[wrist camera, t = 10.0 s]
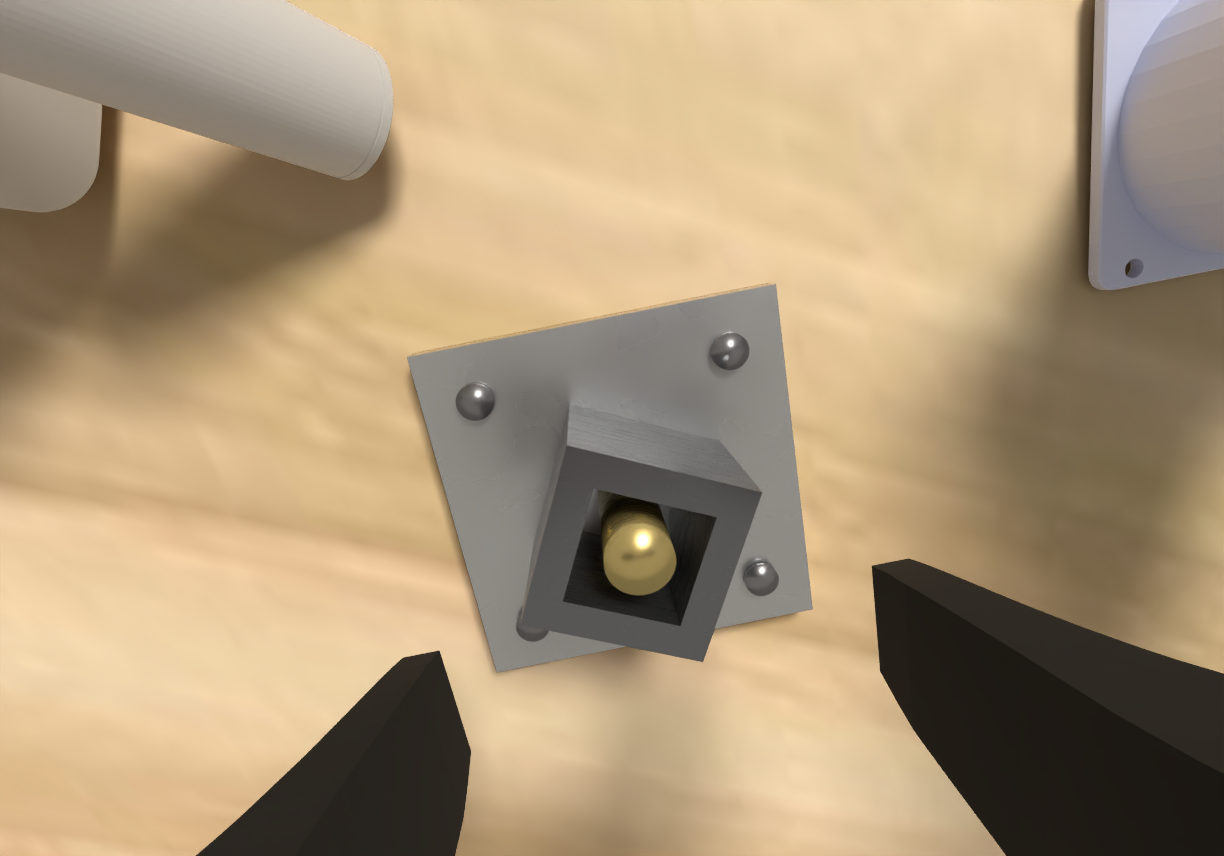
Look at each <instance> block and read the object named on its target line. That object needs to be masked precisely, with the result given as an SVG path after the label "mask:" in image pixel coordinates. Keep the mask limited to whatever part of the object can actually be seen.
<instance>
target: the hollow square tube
mask: <svg viewBox="0 0 1224 856" xmlns="http://www.w3.org/2000/svg"><path fill="white" fill-rule="evenodd" d="M594 489H598V490H602V491H606V492H611V493H615V494H619V495H624V496H628V497H632V498H636V499H641V500H645V501H649V502H654V503H658V504H662V505H666V506H671V508H670V512H669V515H668V518H667V521H666V527H667V530H668V533H669V536H670V539H671V542H672V545H673V548H674V550H675V554H676V568H675V571H674V574H673V576H672V578H671V579H670V580H669V582H668V583H667V584H666V585H665V586H664V587H662V588H661V589H659V590H658V591H656V592H653V593H650V594H647V595H631V594H627V593H624V592H622V591H620V590H618V589H617V588H616V587H614V586H613V585H612V584H611V582H610V581H609V580H608V578H607V576H606V573H605V570H604V561H603V549H602V537H601V535H599V534H594V533H590V532H585V531H582V530H583V526H584V523H585V519H586V516H587V512H588V508H589V505H590V501H591V497H592V494H593V490H594ZM761 495H762V491H761V490H760V489H759V488H758V486H757V485H756V484H755V483H754V481H753V480H752V479H751V478H750V477H749V475H748V474H747V473H746V472H745V471H744V469H743V468H742V467H741V466H740V464H739V463H738V462H737V461H736V460H735V458H734V457H733V456H732V455H731V454H730V452H729V451H728V450H727V449H726V447H725V446H724V445H723V444H722V443H721V441H718V440H714V439H710V438H706V437H702V436H698V435H694V434H690V433H686V432H681V431H677V430H673V429H669V428H665V427H661V426H657V425H653V424H649V423H645V422H641V421H637V420H633V419H629V418H625V417H621V416H617V415H613V414H609V413H605V412H601V411H597V410H593V409H589V408H585V407H581V406H577V405H573V404H569V408H568V412H567V416H566V420H565V424H564V427H563V431H562V435H561V439H560V443H559V447H558V451H557V455H556V459H555V463H554V466H553V470H552V474H551V478H550V482H549V486H548V490H547V494H546V498H545V502H544V505H543V509H542V513H541V517H540V521H539V525H538V529H537V533H536V537H535V541H534V544H533V550H532V556H531V562H530V568H529V574H528V580H527V586H526V592H525V598H524V604H523V610H522V616H521V622H520V625H523V626H528V627H533V628H538V629H543V630H547V631H552V632H557V633H562V634H567V635H572V636H577V637H582V638H587V639H592V640H597V641H602V642H607V643H612V644H617V645H622V646H627V647H632V648H637V649H641V650H646V651H651V652H656V653H661V654H666V655H671V656H676V657H681V658H686V659H691V660H696V661H701V662H703V660H704V658H705V655H706V652H707V649H708V646H709V643H710V640H711V638H712V635H713V632H714V629H715V626H716V623H717V620H718V618H719V615H720V612H721V609H722V606H723V603H724V601H725V598H726V595H727V592H728V589H729V586H730V583H731V581H732V578H733V575H734V572H735V569H736V566H737V564H738V561H739V558H740V555H741V552H742V549H743V546H744V544H745V541H746V538H747V535H748V532H749V529H750V526H751V524H752V521H753V518H754V515H755V512H756V509H757V507H758V504H759V501H760V498H761Z"/></svg>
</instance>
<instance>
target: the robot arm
mask: <svg viewBox="0 0 1224 856" xmlns="http://www.w3.org/2000/svg"><path fill="white" fill-rule="evenodd" d="M1128 262H1130V265H1131V268H1130V271H1129V273H1128V274H1127V275H1126V274H1125V267H1126V265H1127V264H1128ZM1223 268H1224V0H1095V24H1094V65H1093V106H1092V147H1091V187H1090V228H1089V269H1088V276H1089V282H1090V283H1091V285H1092V286H1093V287H1094V288H1096V289H1098V290H1117V289H1122V288H1127V287H1132V286H1137V285H1142V284H1147V283H1152V282H1158V281H1163V280H1168V279H1173V278H1178V277H1183V276H1188V275H1193V274H1198V273H1203V272H1208V271H1213V270H1218V269H1223ZM872 574H873V587H874V599H875V612H876V624H877V637H878V649H879V662H880V672H881V674H882V675H883V677H884V679H885V681H886V683H887V684H888V686H889V688H890V690H891V692H892V693H893V695H894V697H895V699H896V701H897V702H898V704H899V706H900V708H901V709H902V711H903V713H904V714H905V716H906V718H907V719H908V721H909V723H910V725H911V726H912V728H913V730H914V731H915V732H916V734H917V735H918V737H919V738H920V739H921V741H922V742H923V744H924V745H925V746H926V748H927V749H928V750H929V752H930V753H931V755H932V756H933V757H934V759H935V760H936V761H937V763H938V764H939V765H940V767H941V768H942V770H943V771H944V772H945V774H946V775H947V776H948V778H949V779H950V780H951V782H952V783H953V784H954V786H955V787H956V788H957V790H958V791H959V793H960V794H961V795H962V797H963V798H964V799H965V801H966V802H967V803H968V805H969V806H970V807H971V809H972V810H973V811H974V813H975V814H976V815H977V817H978V818H979V819H980V821H981V822H982V823H983V825H984V826H985V827H986V829H987V830H988V832H989V833H990V834H991V836H992V837H993V838H994V840H995V841H996V842H997V844H998V845H999V846H1000V848H1001V849H1002V850H1003V852H1004V853H1005V854H1006V856H1224V674H1223V673H1219V672H1216V671H1213V670H1209V669H1206V668H1203V667H1199V666H1196V665H1193V664H1189V663H1186V662H1182V661H1179V660H1176V659H1173V658H1170V657H1167V656H1164V655H1160V654H1157V653H1154V652H1151V651H1148V650H1145V649H1142V648H1139V647H1136V646H1134V645H1131V644H1128V643H1125V642H1122V641H1120V640H1117V639H1114V638H1111V637H1108V636H1106V635H1103V634H1100V633H1097V632H1094V631H1091V630H1089V629H1086V628H1083V627H1080V626H1078V625H1075V624H1073V623H1070V622H1067V621H1065V620H1062V619H1059V618H1057V617H1054V616H1052V615H1049V614H1047V613H1044V612H1042V611H1039V610H1036V609H1034V608H1031V607H1029V606H1026V605H1024V604H1022V603H1019V602H1017V601H1014V600H1012V599H1009V598H1007V597H1004V596H1002V595H1000V594H997V593H995V592H992V591H990V590H987V589H985V588H983V587H980V586H978V585H975V584H973V583H971V582H968V581H966V580H963V579H961V578H959V577H956V576H954V575H951V574H949V573H946V572H944V571H941V570H939V569H936V568H934V567H931V566H929V565H926V564H923V563H920V562H917V561H914V560H911V559H904V560H899V561H894V562H889V563H884V564H879V565H874V566H872ZM470 756H471V750H470V747H469V743H468V740H467V737H466V734H465V731H464V727H463V724H462V721H461V718H460V715H459V711H458V708H457V705H456V702H455V699H454V695H453V692H452V689H451V686H450V683H449V680H448V676H447V673H446V670H445V667H444V664H443V660H442V657H441V654H440V651H435V652H430V653H425V654H420V655H415V656H410V657H404V658H402V659H401V660H400V661H399V662H398V663H397V664H396V665H394V666H393V667H392V668H391V669H390V670H389V671H388V672H387V673H386V674H385V675H384V676H383V677H382V678H381V679H380V680H379V681H378V682H377V683H376V684H375V685H374V686H373V687H372V688H371V689H370V690H369V691H368V692H367V693H366V694H365V695H364V696H363V697H362V698H361V699H360V700H359V701H358V702H357V703H356V704H355V706H354V707H353V708H352V709H351V710H350V711H349V712H348V713H347V714H346V715H345V716H344V717H343V718H342V719H341V720H340V721H339V722H338V723H337V724H336V725H335V726H334V727H333V728H332V729H331V730H330V731H329V732H328V733H327V734H326V735H325V736H324V737H323V738H322V739H321V740H320V741H319V742H318V743H317V744H316V745H315V746H314V747H313V748H312V749H311V750H310V751H309V752H308V753H307V754H306V755H305V756H304V757H303V758H302V759H301V760H300V761H299V762H298V763H297V764H296V765H295V766H294V767H293V768H292V769H290V770H289V771H288V772H287V773H286V774H285V775H284V776H283V777H282V778H281V779H280V780H279V781H278V782H277V783H276V784H275V785H274V786H273V787H271V788H270V789H269V790H268V791H267V792H266V793H265V794H264V795H263V796H262V797H261V798H260V799H259V800H258V801H257V802H256V803H255V804H254V805H252V806H251V807H250V808H249V809H248V810H247V811H246V812H245V813H244V814H243V815H242V816H241V817H240V818H239V819H237V820H236V821H235V822H234V823H233V824H232V825H231V826H230V827H228V828H227V829H226V830H225V831H224V832H223V833H222V834H221V835H219V836H218V837H217V838H216V839H215V840H214V841H212V842H211V843H210V844H209V845H208V846H207V847H206V848H204V849H203V850H202V851H201V852H200V853H199V854H197V855H196V856H455V853H456V849H457V844H458V840H459V836H460V831H461V826H462V822H463V817H464V810H465V802H466V794H467V786H468V776H469V766H470Z"/></svg>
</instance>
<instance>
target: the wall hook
mask: <svg viewBox="0 0 1224 856" xmlns="http://www.w3.org/2000/svg"><path fill="white" fill-rule="evenodd" d="M102 105H105V106H108V107H111V108H115V109H118V110H121V111H124V112H128V113H131V114H134V115H137V116H140V117H144V118H147V119H150V120H153V121H156V122H160V123H163V124H166V125H169V126H172V127H176V128H179V129H182V130H185V131H188V132H192V133H195V134H198V135H201V136H204V137H208V138H211V139H214V140H217V141H220V142H224V143H227V144H230V145H233V146H236V147H240V148H243V149H246V150H249V151H252V152H256V153H259V154H262V155H265V156H268V157H272V158H275V159H278V160H281V161H284V162H288V163H291V164H294V165H297V166H300V167H304V168H307V169H310V170H313V171H317V172H320V173H323V174H326V175H329V176H332V177H336V178H339V179H342V180H354V179H357V178H359V177H361V176H362V175H364V174H365V173H366V172H367V171H368V170H369V169H370V168H371V167H372V166H373V165H374V163H375V162H376V161H377V159H378V158H379V156H380V154H381V152H382V150H383V148H384V145H385V143H386V141H387V137H388V133H389V130H390V126H391V120H392V113H393V88H392V81H391V76H390V73H389V70H388V67H387V65H386V62H385V60H384V59H383V57H382V56H381V55H380V53H379V52H378V51H377V50H375V49H374V48H373V47H371V46H369V45H367V44H365V43H363V42H361V41H360V40H358V39H356V38H354V37H352V36H350V35H348V34H347V33H345V32H343V31H341V30H339V29H337V28H335V27H334V26H332V25H330V24H328V23H326V22H324V21H322V20H321V19H319V18H317V17H315V16H313V15H311V14H309V13H308V12H306V11H304V10H302V9H300V8H298V7H296V6H294V5H293V4H291V3H289V2H287V1H285V0H0V208H5V209H13V210H21V211H29V212H52V211H57V210H60V209H63V208H66V207H68V206H70V205H72V204H74V203H75V202H77V201H78V200H79V199H80V198H82V197H83V196H84V195H85V194H86V192H87V191H88V190H89V189H90V187H91V186H92V184H93V182H94V180H95V177H96V174H97V171H98V167H99V155H100V138H101V121H102Z"/></svg>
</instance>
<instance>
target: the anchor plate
mask: <svg viewBox="0 0 1224 856" xmlns="http://www.w3.org/2000/svg"><path fill="white" fill-rule="evenodd" d="M407 359H408V363H409V366H410V370H411V373H412V377H413V380H414V384H415V387H416V391H417V394H418V398H419V401H420V405H421V408H422V412H423V415H424V419H425V422H426V426H427V429H428V433H429V436H430V440H431V443H432V447H433V450H434V454H435V457H436V461H437V464H438V468H439V471H440V475H441V478H442V482H443V485H444V489H445V492H446V496H447V499H448V503H449V506H450V510H451V513H452V517H453V520H454V524H455V527H456V531H457V534H458V538H459V541H460V545H461V548H462V552H463V555H464V559H465V562H466V566H467V569H468V573H469V576H470V580H471V583H472V587H473V590H474V594H475V597H476V601H477V604H478V608H479V612H480V615H481V619H482V622H483V626H484V629H485V633H486V636H487V640H488V643H489V647H490V650H491V654H492V657H493V661H494V664H495V668H496V671H497V672H501V671H506V670H511V669H516V668H521V667H526V666H531V665H536V664H541V663H546V662H551V661H556V660H561V659H566V658H571V657H576V656H581V655H586V654H591V653H596V652H601V651H606V650H611V649H616V648H621V647H626V646H622V645H617V644H612V643H607V642H602V641H597V640H592V639H587V638H582V637H577V636H572V635H567V634H562V633H557V632H552V631H547V630H543V629H538V628H533V627H528V626H523V625H520V622H521V616H522V610H523V604H524V598H525V592H526V586H527V580H528V574H529V568H530V562H531V556H532V550H533V544H534V541H535V537H536V533H537V529H538V525H539V521H540V517H541V513H542V509H543V505H544V502H545V498H546V494H547V490H548V486H549V482H550V478H551V474H552V470H553V466H554V463H555V459H556V455H557V451H558V447H559V443H560V439H561V435H562V431H563V427H564V424H565V420H566V416H567V412H568V408H569V404H573V405H577V406H581V407H585V408H589V409H593V410H597V411H601V412H605V413H609V414H613V415H617V416H621V417H625V418H629V419H633V420H637V421H641V422H645V423H649V424H653V425H657V426H661V427H665V428H669V429H673V430H677V431H681V432H686V433H690V434H694V435H698V436H702V437H706V438H710V439H714V440H718V441H721V443H722V444H723V445H724V446H725V447H726V449H727V450H728V451H729V452H730V454H731V455H732V456H733V457H734V458H735V460H736V461H737V462H738V463H739V464H740V466H741V467H742V468H743V469H744V471H745V472H746V473H747V474H748V475H749V477H750V478H751V479H752V480H753V481H754V483H755V484H756V485H757V486H758V488H759V489H760V490H761V491H762V495H761V498H760V501H759V504H758V507H757V509H756V512H755V515H754V518H753V521H752V524H751V526H750V529H749V532H748V535H747V538H746V541H745V544H744V546H743V549H742V552H741V555H740V558H739V561H738V564H737V566H736V569H735V572H734V575H733V578H732V581H731V583H730V586H729V589H728V592H727V595H726V598H725V601H724V603H723V606H722V609H721V612H720V615H719V618H718V620H717V623H716V626H715V629H716V628H721V627H726V626H731V625H736V624H741V623H746V622H751V621H756V620H761V619H766V618H772V617H777V616H782V615H787V614H792V613H797V612H802V611H807V610H812V609H813V608H812V599H811V590H810V581H809V572H808V563H807V555H806V546H805V537H804V528H803V519H802V511H801V502H800V493H799V484H798V475H797V466H796V458H795V449H794V440H793V431H792V422H791V413H790V405H789V396H788V387H787V378H786V369H785V360H784V352H783V343H782V334H781V325H780V316H779V307H778V299H777V290H776V284H768V283H766V284H761V285H756V286H751V287H746V288H741V289H736V290H731V291H726V292H721V293H716V294H711V295H706V296H701V297H696V298H691V299H686V300H681V301H676V302H670V303H665V304H660V305H655V306H650V307H645V308H640V309H635V310H630V311H625V312H620V313H615V314H610V315H605V316H600V317H595V318H590V319H585V320H580V321H575V322H570V323H565V324H560V325H555V326H549V327H544V328H539V329H534V330H529V331H524V332H519V333H514V334H509V335H504V336H499V337H494V338H489V339H484V340H479V341H474V342H469V343H464V344H459V345H454V346H449V347H444V348H439V349H434V350H429V351H423V352H418V353H414V354H412V355H410V356H409V357H407ZM670 508H671V506H666V505H662V504H658V503H654V502H649V501H645V500H641V499H636V498H632V497H628V496H624V495H619V494H615V493H611V492H606V491H602V490H598V489H594V490H593V494H592V497H591V501H590V505H589V508H588V512H587V516H586V519H585V523H584V526H583V530H582V531H585V532H590V533H594V534H599V535H601V537H602V549H603V561H604V570H605V573H606V576H607V578H608V580H609V581H610V582H611V584H612V585H613V586H614V587H616V588H617V589H618V590H620V591H622V592H624V593H627V594H631V595H647V594H650V593H653V592H656V591H658V590H659V589H661V588H662V587H664V586H665V585H666V584H667V583H668V582H669V580H670V579H671V578H672V576H673V574H674V571H675V568H676V554H675V550H674V548H673V545H672V542H671V539H670V536H669V533H668V530H667V527H666V521H667V518H668V515H669V512H670Z"/></svg>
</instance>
